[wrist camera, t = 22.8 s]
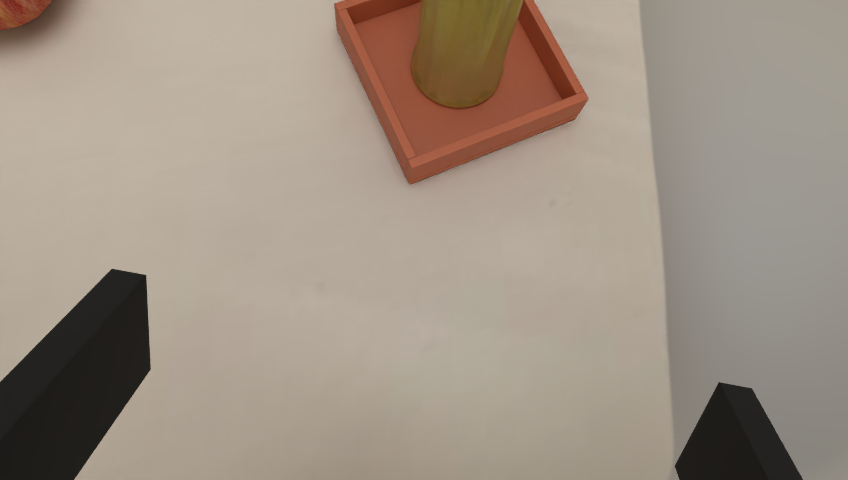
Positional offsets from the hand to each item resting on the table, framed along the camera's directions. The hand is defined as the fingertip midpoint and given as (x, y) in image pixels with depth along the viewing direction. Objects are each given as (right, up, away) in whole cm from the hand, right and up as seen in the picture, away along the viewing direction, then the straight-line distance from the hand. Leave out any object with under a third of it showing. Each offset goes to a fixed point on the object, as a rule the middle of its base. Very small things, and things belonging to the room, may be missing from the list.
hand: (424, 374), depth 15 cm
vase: (+2, +14, +27) cm, 31 cm away
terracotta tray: (+2, +14, +28) cm, 31 cm away
